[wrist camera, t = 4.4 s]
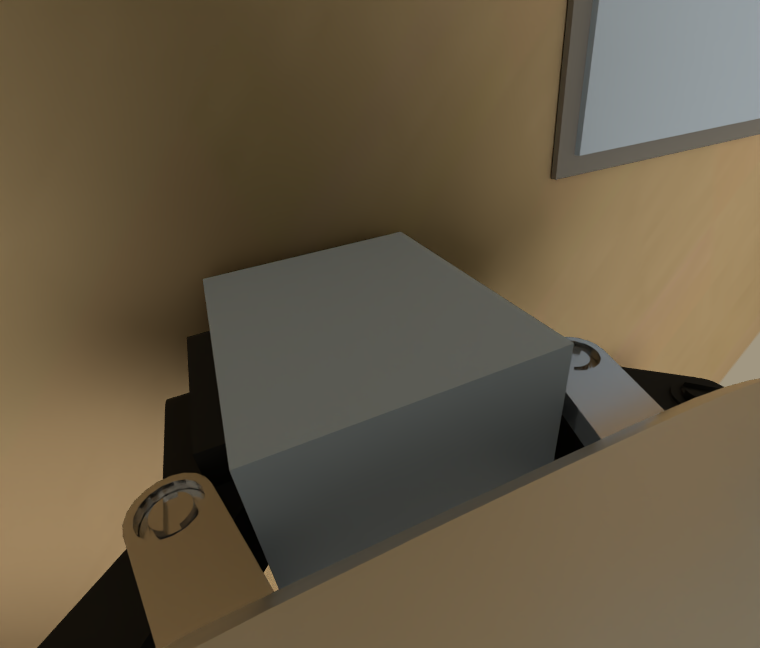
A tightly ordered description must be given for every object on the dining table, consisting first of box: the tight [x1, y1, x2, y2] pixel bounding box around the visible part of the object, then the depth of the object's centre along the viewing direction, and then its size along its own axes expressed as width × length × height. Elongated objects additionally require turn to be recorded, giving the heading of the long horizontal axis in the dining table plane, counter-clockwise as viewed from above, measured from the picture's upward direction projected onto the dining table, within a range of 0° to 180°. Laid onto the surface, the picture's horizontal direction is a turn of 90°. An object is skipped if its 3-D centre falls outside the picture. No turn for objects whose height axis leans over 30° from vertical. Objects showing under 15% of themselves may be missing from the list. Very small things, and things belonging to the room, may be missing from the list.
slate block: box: [203, 232, 574, 589], centre depth 9 cm, size 5×5×6 cm
